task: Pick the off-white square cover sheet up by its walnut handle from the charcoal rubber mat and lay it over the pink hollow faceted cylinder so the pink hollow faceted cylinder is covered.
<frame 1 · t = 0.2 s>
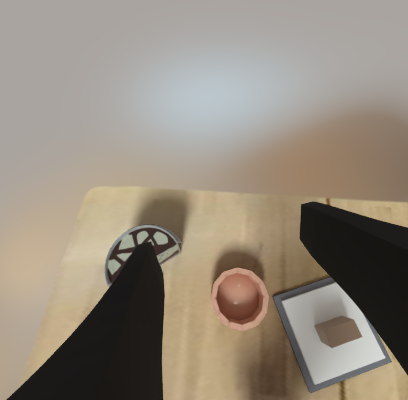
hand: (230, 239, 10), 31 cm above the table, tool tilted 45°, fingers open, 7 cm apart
food container: (152, 252, 41), on the table
mat: (327, 326, 35), on the table
cover sheet: (329, 327, 35), resting on mat
pink hollow faceted cylinder: (236, 295, 37), on the table
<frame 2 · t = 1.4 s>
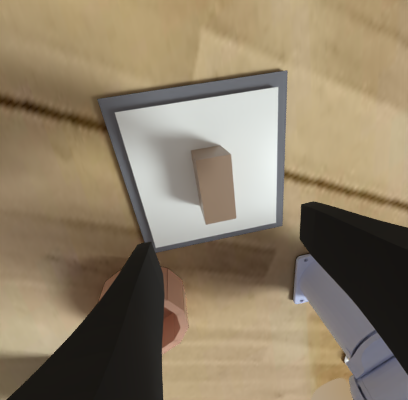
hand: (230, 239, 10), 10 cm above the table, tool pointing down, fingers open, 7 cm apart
mat: (207, 173, 19), on the table
cover sheet: (208, 175, 18), resting on mat
pink hollow faceted cylinder: (144, 295, 24), on the table
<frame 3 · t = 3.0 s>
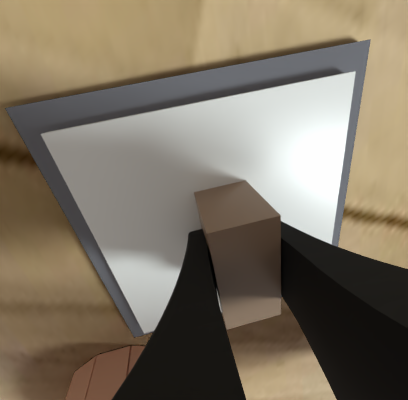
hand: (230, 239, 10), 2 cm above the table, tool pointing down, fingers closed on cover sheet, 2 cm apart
mat: (221, 219, 11), on the table
cover sheet: (223, 224, 11), resting on mat, touching gripper
pink hollow faceted cylinder: (134, 380, 17), on the table
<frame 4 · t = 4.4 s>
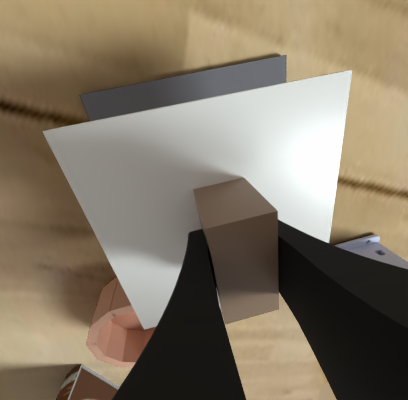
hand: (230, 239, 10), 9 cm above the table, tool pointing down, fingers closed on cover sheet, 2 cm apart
food container: (85, 386, 28), on the table
mat: (203, 170, 17), on the table
cover sheet: (222, 221, 11), point 7 cm above the table, touching gripper
pink hollow faceted cylinder: (144, 300, 23), on the table
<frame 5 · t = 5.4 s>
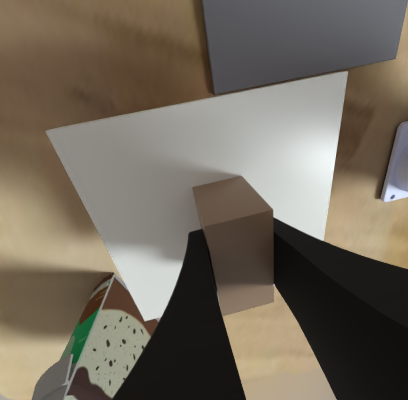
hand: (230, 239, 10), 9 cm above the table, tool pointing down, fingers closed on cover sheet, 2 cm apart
food container: (115, 309, 23), on the table
cover sheet: (220, 218, 11), point 7 cm above the table, touching gripper
when the fingers open (7 cm above the table, at t = 6.1 s): cover sheet stays where it is, resting on pink hollow faceted cylinder.
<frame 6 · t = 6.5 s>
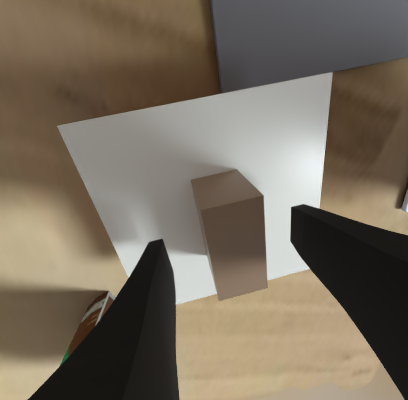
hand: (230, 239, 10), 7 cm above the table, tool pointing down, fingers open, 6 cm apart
food container: (111, 329, 21), on the table
cover sheet: (218, 211, 12), point 4 cm above the table, touching pink hollow faceted cylinder
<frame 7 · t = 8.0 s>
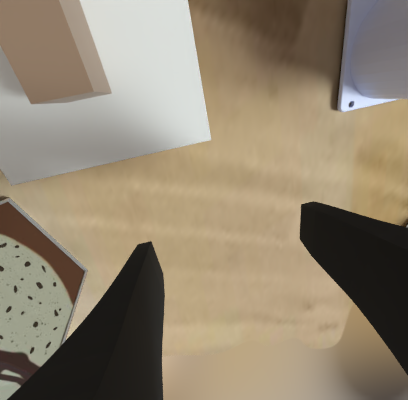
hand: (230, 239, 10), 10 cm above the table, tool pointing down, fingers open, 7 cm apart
food container: (25, 251, 19), on the table
cover sheet: (71, 42, 10), point 4 cm above the table, touching pink hollow faceted cylinder
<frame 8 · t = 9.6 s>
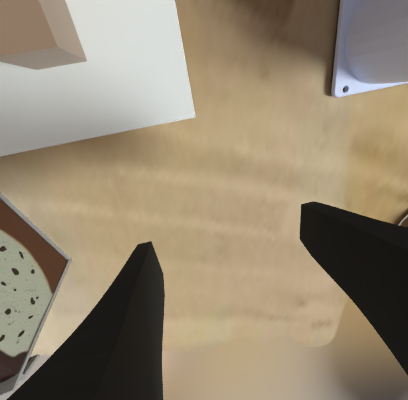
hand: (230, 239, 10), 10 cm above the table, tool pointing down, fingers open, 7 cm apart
food container: (5, 238, 18), on the table
cover sheet: (41, 3, 10), point 4 cm above the table, touching pink hollow faceted cylinder
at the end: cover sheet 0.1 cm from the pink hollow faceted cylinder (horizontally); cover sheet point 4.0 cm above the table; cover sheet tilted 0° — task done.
